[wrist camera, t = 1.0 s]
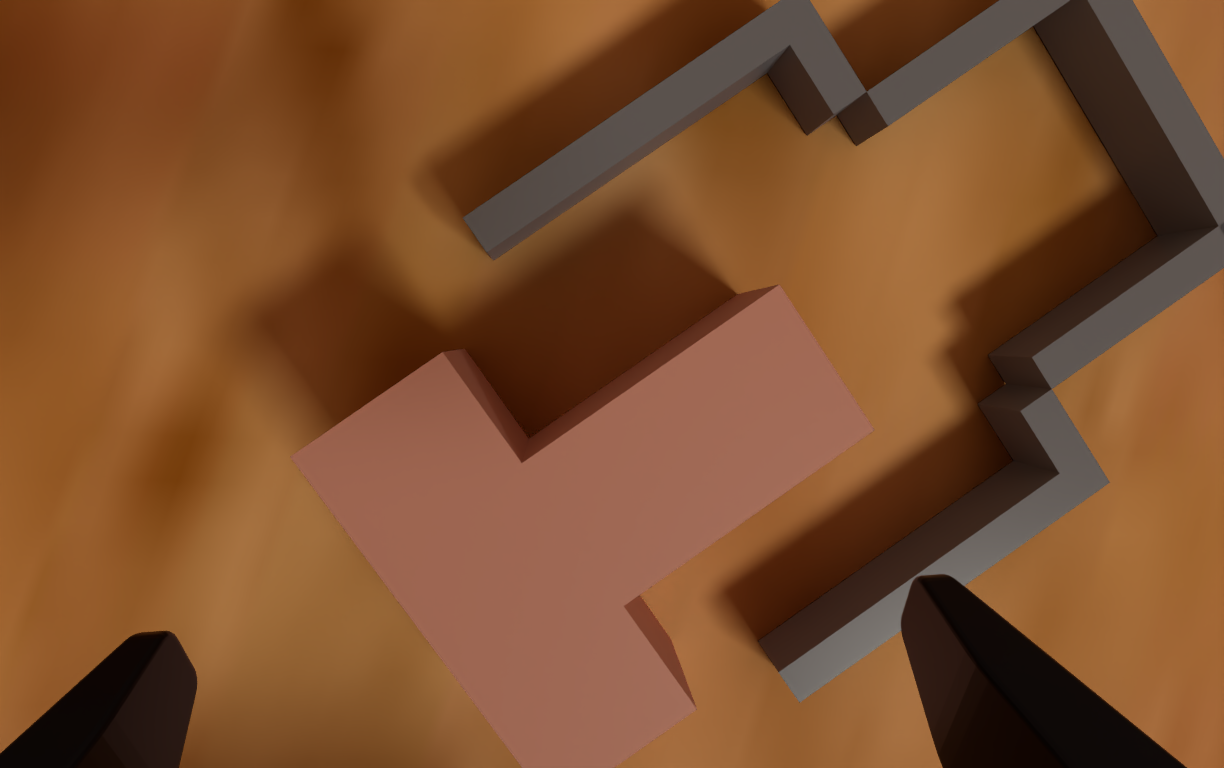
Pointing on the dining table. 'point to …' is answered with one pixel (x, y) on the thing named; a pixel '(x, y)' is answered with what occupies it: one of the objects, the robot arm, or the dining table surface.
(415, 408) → the t block
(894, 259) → the dining table surface
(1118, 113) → the t socket
